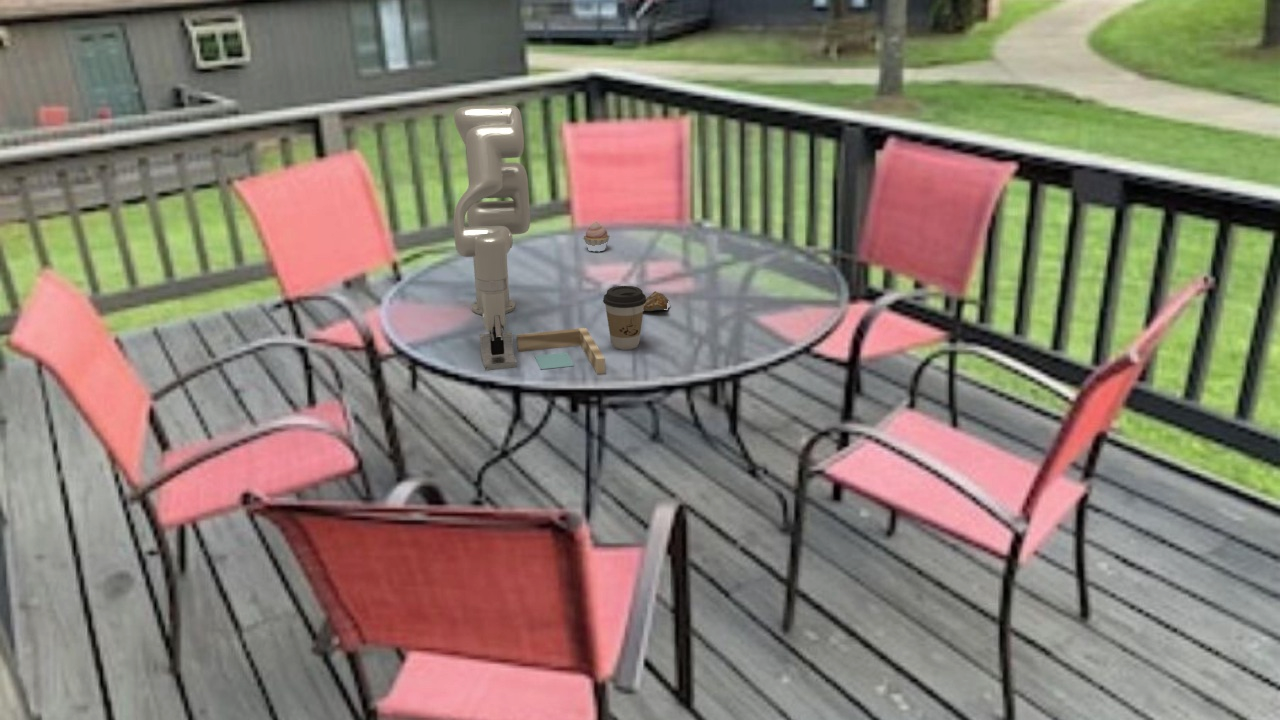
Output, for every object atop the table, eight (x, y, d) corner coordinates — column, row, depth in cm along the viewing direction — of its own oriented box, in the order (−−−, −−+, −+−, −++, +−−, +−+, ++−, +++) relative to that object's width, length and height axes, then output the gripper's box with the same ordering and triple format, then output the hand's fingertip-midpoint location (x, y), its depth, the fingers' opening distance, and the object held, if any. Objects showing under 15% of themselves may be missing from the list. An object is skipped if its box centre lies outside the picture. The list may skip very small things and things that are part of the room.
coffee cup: (613, 355, 257) (612, 300, 251) (597, 340, 266) (596, 287, 260) (653, 348, 261) (653, 294, 255) (636, 334, 270) (636, 282, 265)
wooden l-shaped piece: (517, 348, 261) (516, 334, 260) (586, 341, 266) (585, 327, 264) (531, 381, 242) (530, 366, 240) (605, 373, 246) (604, 358, 245)
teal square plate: (534, 356, 256) (534, 355, 256) (567, 353, 258) (567, 352, 258) (540, 369, 248) (540, 369, 248) (574, 366, 250) (574, 365, 250)
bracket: (512, 356, 256) (511, 331, 254) (516, 367, 250) (515, 341, 247) (481, 360, 254) (479, 334, 252) (485, 370, 248) (483, 344, 245)
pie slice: (638, 301, 281) (637, 290, 296) (638, 316, 282) (637, 304, 297) (672, 300, 281) (669, 289, 296) (672, 315, 283) (669, 303, 297)
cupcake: (613, 247, 348) (613, 219, 344) (605, 254, 340) (604, 226, 336) (588, 245, 350) (587, 217, 347) (579, 252, 342) (578, 224, 338)
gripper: (473, 275, 253) (478, 342, 260) (481, 295, 239) (486, 365, 246) (503, 273, 255) (507, 339, 262) (512, 292, 240) (516, 362, 247)
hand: (497, 351), depth 254 cm, fingers closed on bracket
